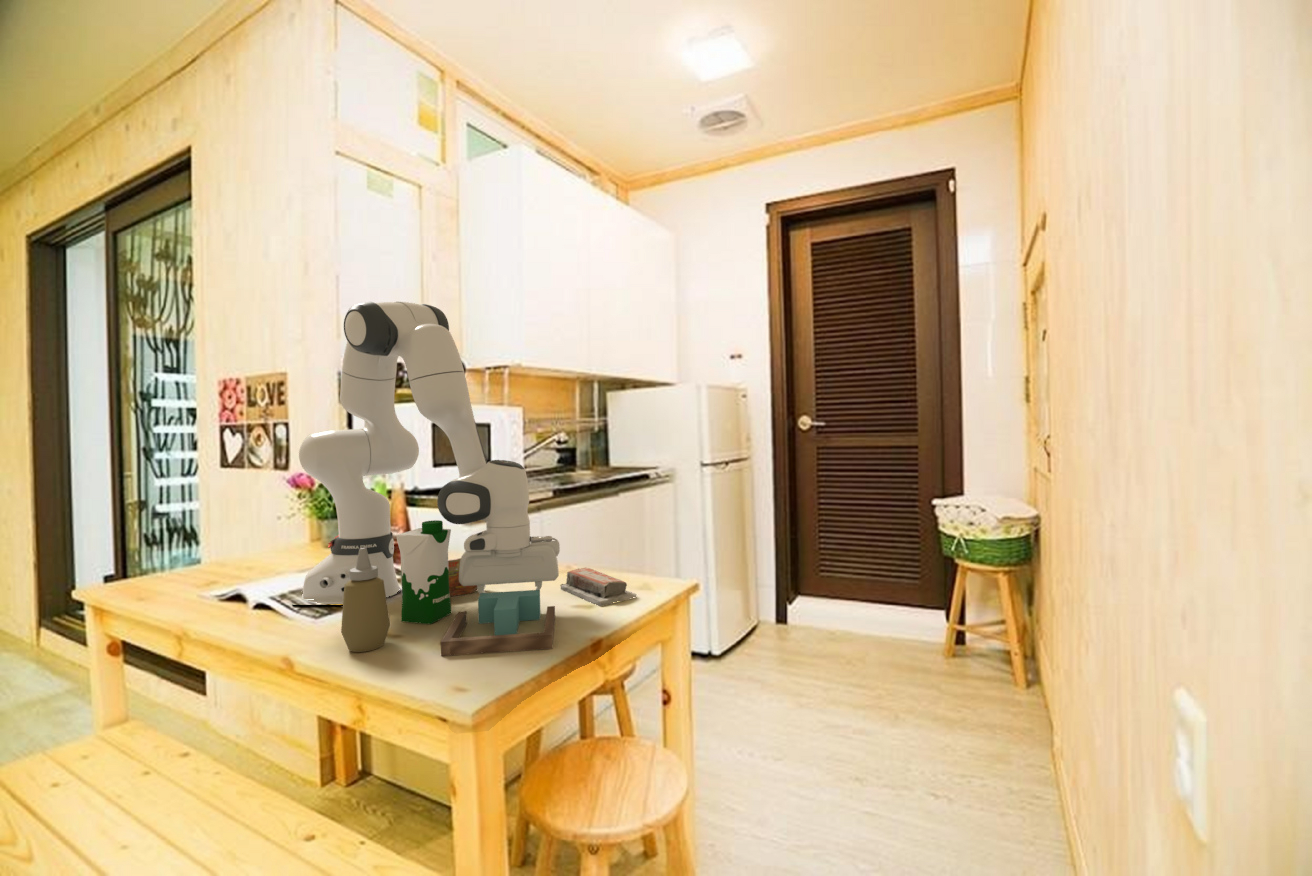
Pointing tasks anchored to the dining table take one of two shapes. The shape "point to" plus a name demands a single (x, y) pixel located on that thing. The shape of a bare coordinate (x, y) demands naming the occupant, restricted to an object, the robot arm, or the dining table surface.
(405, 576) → the milk carton
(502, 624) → the teal T block
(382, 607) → the squeeze bottle
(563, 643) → the dining table surface
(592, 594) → the packaged product
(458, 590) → the tin
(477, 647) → the walnut dock
